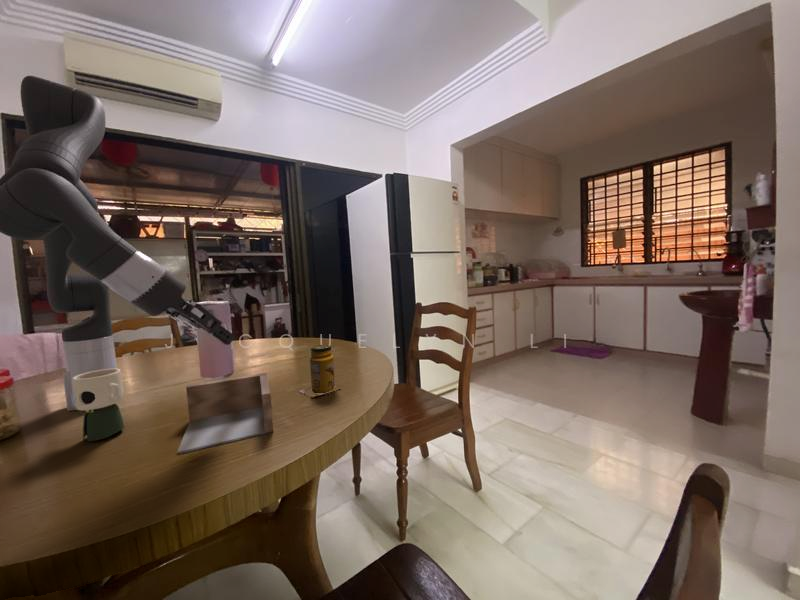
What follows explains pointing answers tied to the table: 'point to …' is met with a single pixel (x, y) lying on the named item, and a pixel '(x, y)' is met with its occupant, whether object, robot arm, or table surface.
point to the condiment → (321, 369)
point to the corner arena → (227, 411)
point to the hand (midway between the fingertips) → (224, 339)
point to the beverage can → (215, 344)
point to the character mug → (99, 402)
